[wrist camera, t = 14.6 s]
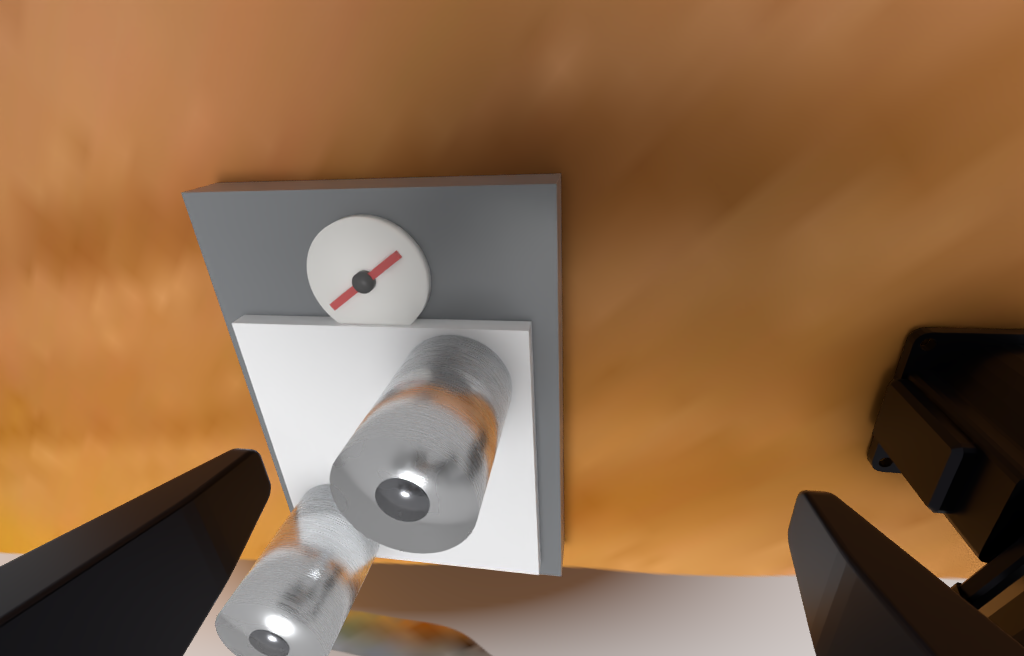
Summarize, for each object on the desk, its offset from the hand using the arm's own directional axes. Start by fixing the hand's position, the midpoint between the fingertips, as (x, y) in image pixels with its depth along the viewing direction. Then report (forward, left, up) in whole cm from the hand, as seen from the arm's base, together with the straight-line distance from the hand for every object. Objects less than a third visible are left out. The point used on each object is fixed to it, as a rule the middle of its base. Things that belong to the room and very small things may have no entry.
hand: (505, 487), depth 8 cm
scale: (+7, +7, -12) cm, 16 cm away
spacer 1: (+10, +13, -10) cm, 19 cm away
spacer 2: (+4, +4, -10) cm, 11 cm away
